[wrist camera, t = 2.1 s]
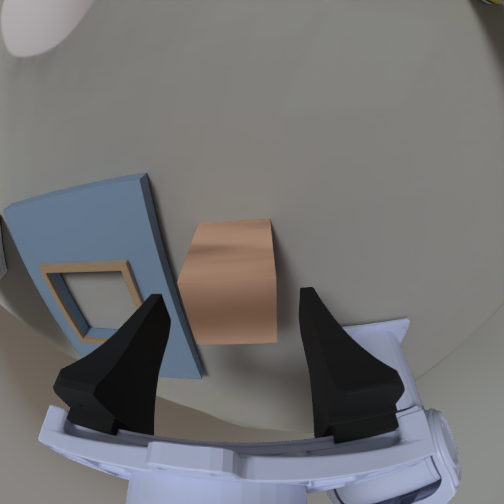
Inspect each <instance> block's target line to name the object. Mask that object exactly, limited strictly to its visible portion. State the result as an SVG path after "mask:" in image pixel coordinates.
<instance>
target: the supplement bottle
mask: <svg viewBox="0 0 504 504" xmlns="http://www.w3.org/2000/svg"><path fill="white" fill-rule="evenodd" d="M482 1H484V2H486V3H488V4H504V0H482Z"/></svg>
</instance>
